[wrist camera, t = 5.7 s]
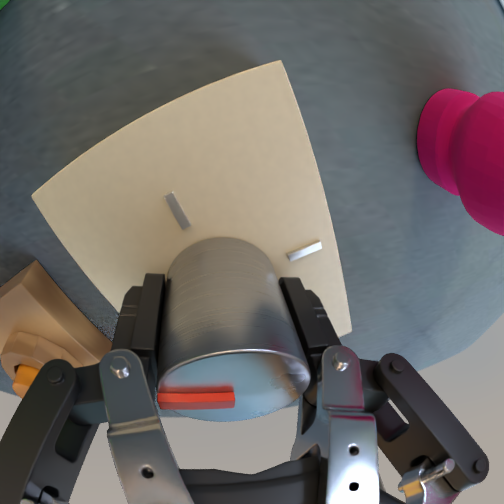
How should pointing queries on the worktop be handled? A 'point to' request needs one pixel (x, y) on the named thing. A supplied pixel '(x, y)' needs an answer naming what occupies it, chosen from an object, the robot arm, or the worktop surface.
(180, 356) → the dimmer knob
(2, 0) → the fruit basket
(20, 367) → the light button
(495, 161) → the pepper mill
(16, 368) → the switch block
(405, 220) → the worktop surface
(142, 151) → the dimmer panel
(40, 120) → the worktop surface
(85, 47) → the worktop surface
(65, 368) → the robot arm
